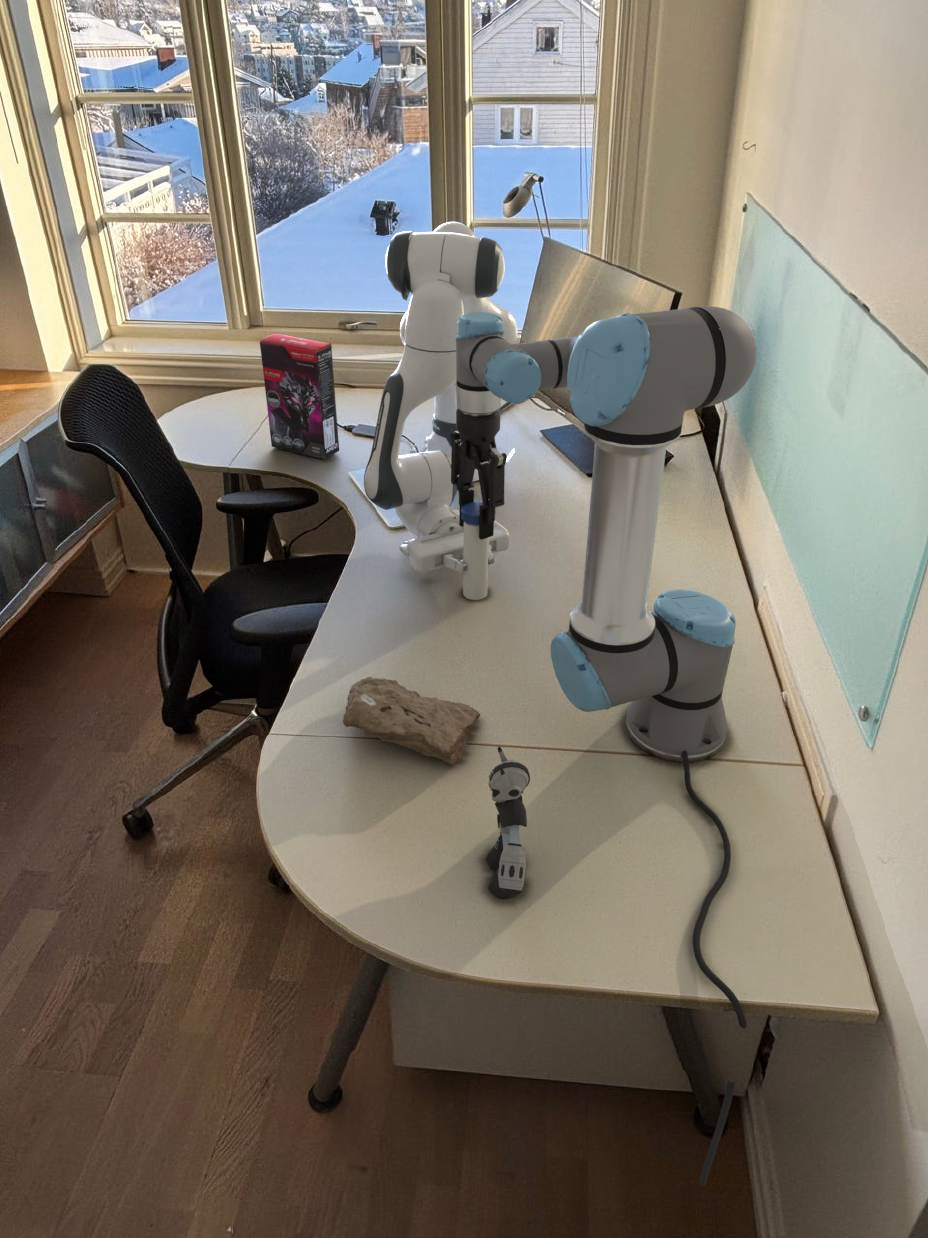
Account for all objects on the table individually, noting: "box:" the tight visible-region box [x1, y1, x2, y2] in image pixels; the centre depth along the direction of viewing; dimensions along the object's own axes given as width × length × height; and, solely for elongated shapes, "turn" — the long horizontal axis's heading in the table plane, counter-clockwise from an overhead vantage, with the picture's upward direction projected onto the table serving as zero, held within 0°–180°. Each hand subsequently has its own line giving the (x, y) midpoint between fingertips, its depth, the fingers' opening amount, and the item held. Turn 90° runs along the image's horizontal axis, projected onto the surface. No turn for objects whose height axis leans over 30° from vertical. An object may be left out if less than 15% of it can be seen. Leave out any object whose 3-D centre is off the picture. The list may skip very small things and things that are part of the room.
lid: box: [461, 501, 483, 525], centre depth 166 cm, size 6×6×2 cm
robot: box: [485, 746, 531, 899], centre depth 114 cm, size 20×5×20 cm, turn 3°
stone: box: [342, 676, 481, 766], centre depth 140 cm, size 21×15×6 cm
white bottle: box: [462, 522, 489, 601], centre depth 171 cm, size 5×5×17 cm
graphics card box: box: [259, 333, 340, 460], centre depth 223 cm, size 17×7×27 cm, turn 62°
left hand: (478, 564), depth 171 cm, fingers closed on white bottle, 4 cm apart
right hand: (476, 530), depth 168 cm, fingers closed on lid, 5 cm apart
